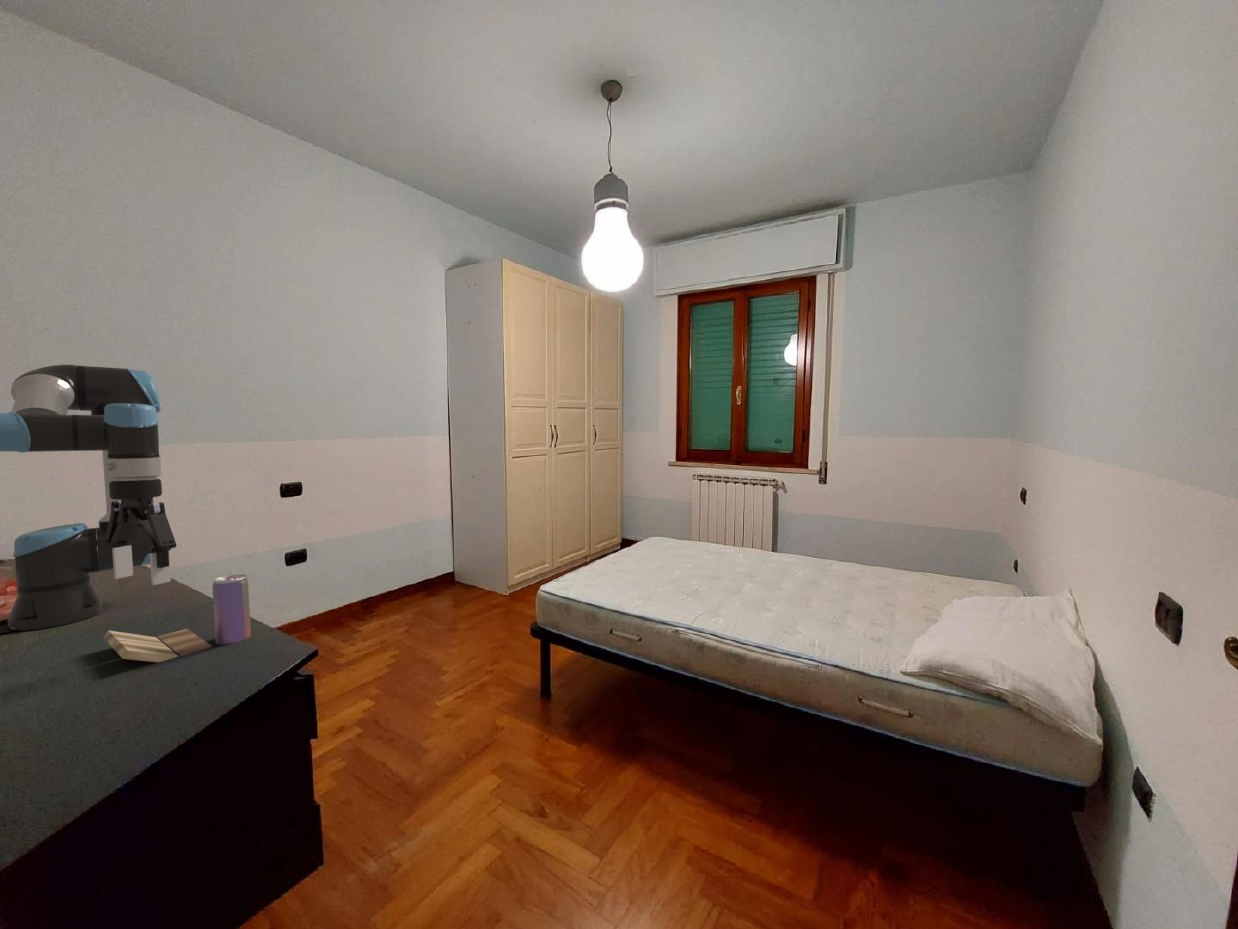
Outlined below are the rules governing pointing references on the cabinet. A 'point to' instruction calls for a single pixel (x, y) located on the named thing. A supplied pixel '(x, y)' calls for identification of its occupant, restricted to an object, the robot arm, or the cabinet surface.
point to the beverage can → (231, 609)
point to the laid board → (184, 642)
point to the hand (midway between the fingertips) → (142, 580)
